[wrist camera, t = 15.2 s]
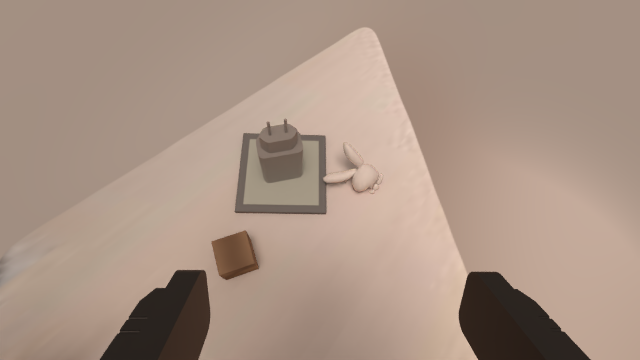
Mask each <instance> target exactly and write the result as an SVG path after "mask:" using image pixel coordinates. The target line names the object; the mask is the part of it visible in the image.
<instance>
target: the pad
mask: <svg viewBox="0 0 640 360" xmlns="http://www.w3.org/2000/svg"><path fill="white" fill-rule="evenodd" d="M300 136H301V140H302V144H303V174H302V176H301V177H299V178H295V179H289V180H284V181H279V182H274V183H267V182H265V180H264V177H263V173H262V169H261V165H260V161H259V157H258V153H257V147H256V139H257V138H258V137H259V134H250V133H244V135H243V144H242V153H241V161H240V170H239V179H238V188H237V197H236V206H235V212H236V213H283V214H326V182H324V181H323V178H324V177H325V176H326V148H325V136H321V135H300Z"/></svg>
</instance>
